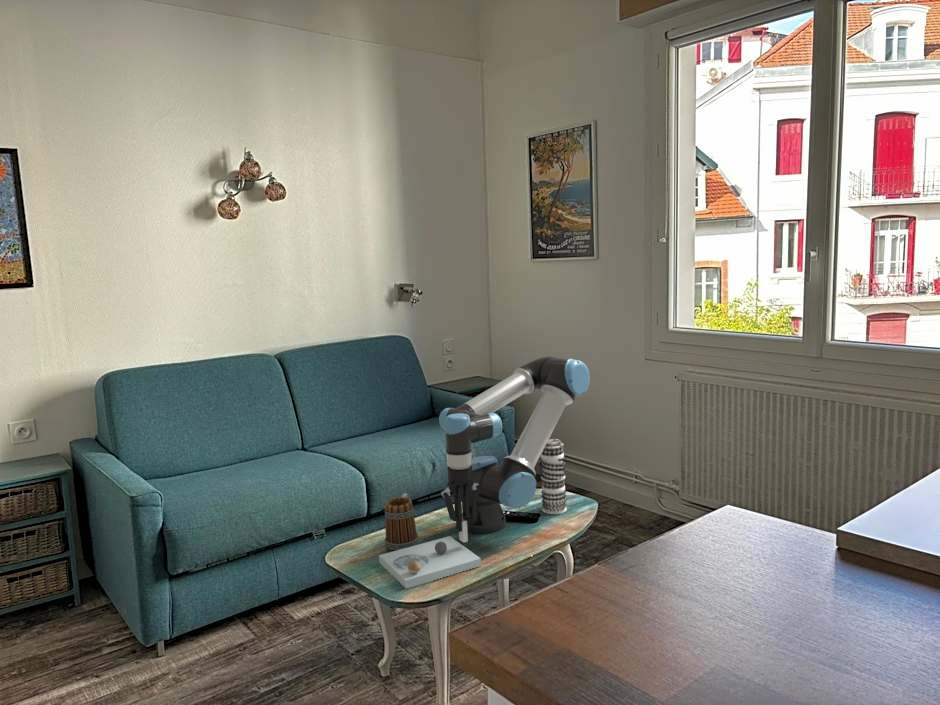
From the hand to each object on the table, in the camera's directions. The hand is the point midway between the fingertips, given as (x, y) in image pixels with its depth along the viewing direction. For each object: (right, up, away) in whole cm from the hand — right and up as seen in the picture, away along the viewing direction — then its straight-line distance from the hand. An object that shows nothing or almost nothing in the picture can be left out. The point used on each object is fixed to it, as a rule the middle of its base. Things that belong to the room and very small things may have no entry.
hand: (463, 540), depth 220 cm
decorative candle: (+32, +2, +33) cm, 46 cm away
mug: (-19, -4, +12) cm, 23 cm away
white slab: (-10, -6, -5) cm, 13 cm away
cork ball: (-14, -3, -15) cm, 21 cm away
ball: (-7, -1, -4) cm, 8 cm away
